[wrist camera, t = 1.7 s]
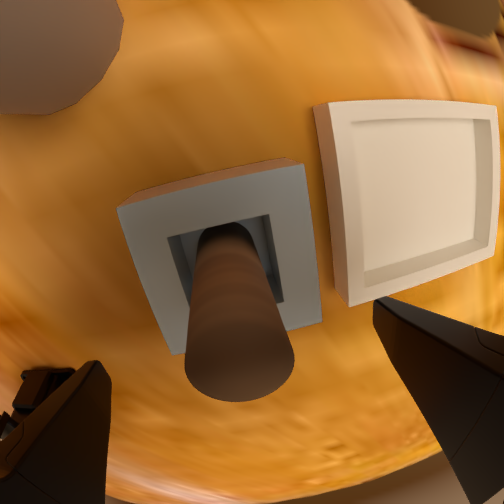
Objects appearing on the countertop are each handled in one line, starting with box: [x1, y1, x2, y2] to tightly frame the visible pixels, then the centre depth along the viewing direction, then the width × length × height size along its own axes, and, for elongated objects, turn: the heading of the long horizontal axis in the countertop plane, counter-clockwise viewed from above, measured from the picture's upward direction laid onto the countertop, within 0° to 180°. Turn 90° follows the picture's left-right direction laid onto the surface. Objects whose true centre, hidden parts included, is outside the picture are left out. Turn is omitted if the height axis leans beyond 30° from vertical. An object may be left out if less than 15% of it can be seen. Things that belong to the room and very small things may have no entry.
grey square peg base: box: [116, 157, 322, 355], centre depth 15 cm, size 8×8×4 cm
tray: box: [313, 99, 500, 307], centre depth 16 cm, size 11×13×2 cm
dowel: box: [185, 222, 295, 402], centre depth 12 cm, size 3×3×9 cm
